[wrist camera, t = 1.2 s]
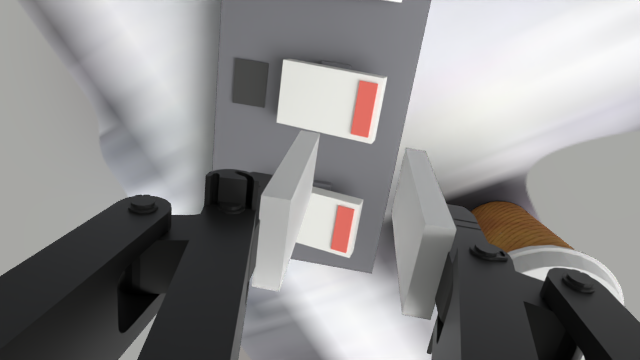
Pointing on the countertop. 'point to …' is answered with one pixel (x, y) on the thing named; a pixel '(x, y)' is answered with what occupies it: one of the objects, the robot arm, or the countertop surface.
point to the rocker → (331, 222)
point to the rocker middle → (330, 100)
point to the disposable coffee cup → (537, 245)
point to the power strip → (327, 49)
